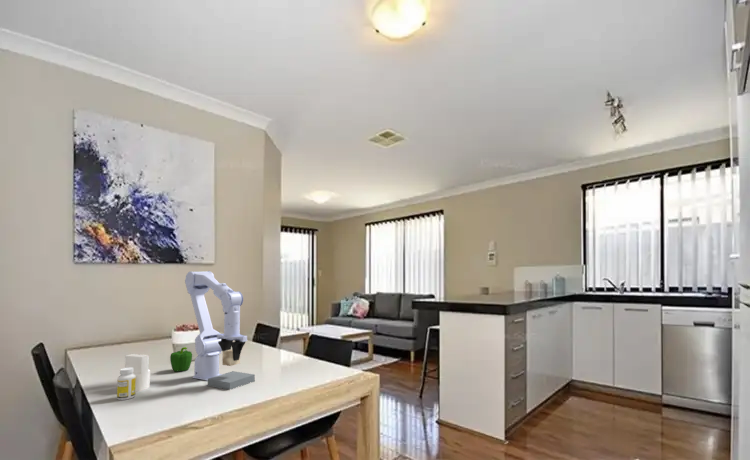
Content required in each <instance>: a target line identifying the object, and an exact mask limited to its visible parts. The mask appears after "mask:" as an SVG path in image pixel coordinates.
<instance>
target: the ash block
mask: <svg viewBox="0 0 750 460" xmlns="http://www.w3.org/2000/svg"><path fill="white" fill-rule="evenodd" d="M221 361H222V363H221V364H222V365H223V366H228V367H232V366H235V365H238V364H239V365H240V364H241V356H240V357H239V360H236V361H234V360H233V350H232V348H231V349H230V350H226V351H223V352H222V360H221Z"/></svg>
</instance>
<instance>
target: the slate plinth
mask: <svg viewBox="0 0 750 460" xmlns="http://www.w3.org/2000/svg"><path fill="white" fill-rule="evenodd" d="M221 374H222V375H219V376H215V377H212V378H209V379H208V381H207V387H213V388H218V389H222V388H223V390H228V389H231V390H234V389H236V387H237V388H239V387H242V386H245V385H248V384H251V383H253V382H255V381H256V380H255V376H256V375H255V374H254V373H248V372H247V373H246V372H242V371H241V372H240V371H234V370H232V371H229V372H226V373H221ZM250 382H251V383H250ZM244 384H245V385H244ZM241 385H242V386H241ZM238 386H239V387H238ZM233 388H234V389H233Z"/></svg>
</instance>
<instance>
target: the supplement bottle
mask: <svg viewBox="0 0 750 460" xmlns="http://www.w3.org/2000/svg"><path fill="white" fill-rule="evenodd" d="M133 371H134V368H133V367H129V368H125V367H123V368H120V370H119V374H120V375H119V376H118V377H117V381H116V382H117V383H116V386H117V387H116V389H117V390H116V399H117V400H119V401H125V400H130V399H132V398H135V397H136V392H135V384H136V376H135V374H133Z"/></svg>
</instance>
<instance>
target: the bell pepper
mask: <svg viewBox="0 0 750 460" xmlns="http://www.w3.org/2000/svg"><path fill="white" fill-rule="evenodd" d="M187 349H188V347H186V346H183V347H181V349H180V350H178V351H175V352H172V353H171V354H170V357H169V358H170V359H169V360H170V365H171V369H172V371H174V372H185V371H188V370H189V369H190V367H191V364H192V360H193V354H192V351H190V350H187Z"/></svg>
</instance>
